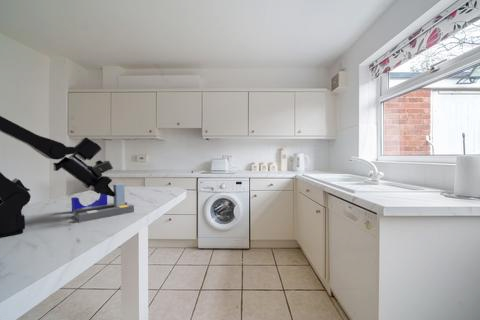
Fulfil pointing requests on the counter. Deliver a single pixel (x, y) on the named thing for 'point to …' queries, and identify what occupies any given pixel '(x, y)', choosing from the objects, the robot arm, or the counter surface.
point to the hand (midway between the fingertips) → (114, 195)
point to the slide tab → (119, 195)
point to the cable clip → (101, 201)
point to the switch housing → (101, 211)
